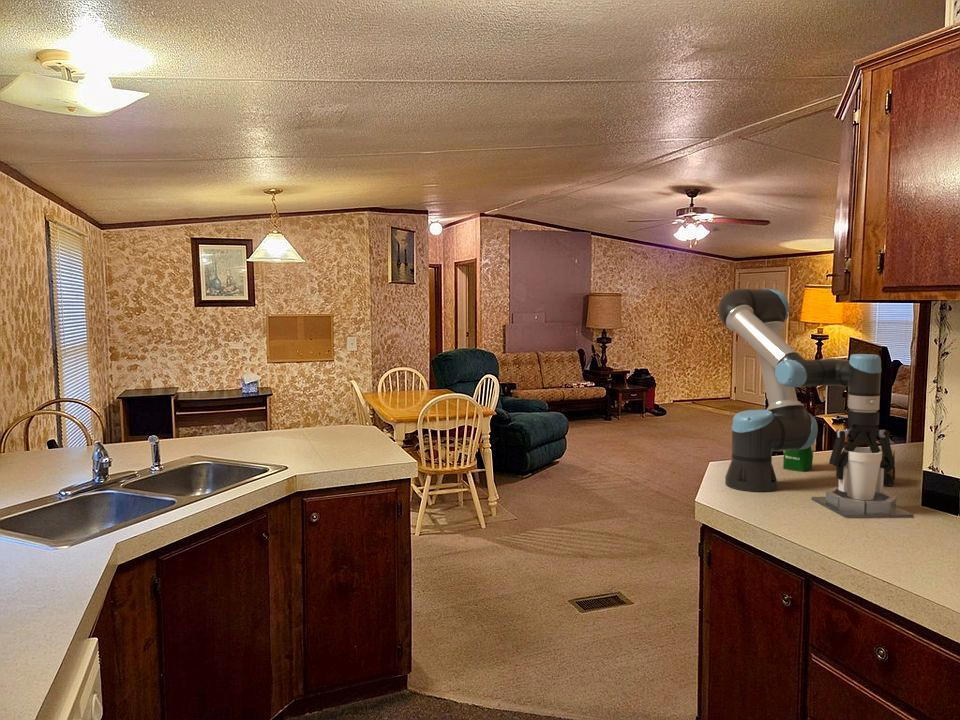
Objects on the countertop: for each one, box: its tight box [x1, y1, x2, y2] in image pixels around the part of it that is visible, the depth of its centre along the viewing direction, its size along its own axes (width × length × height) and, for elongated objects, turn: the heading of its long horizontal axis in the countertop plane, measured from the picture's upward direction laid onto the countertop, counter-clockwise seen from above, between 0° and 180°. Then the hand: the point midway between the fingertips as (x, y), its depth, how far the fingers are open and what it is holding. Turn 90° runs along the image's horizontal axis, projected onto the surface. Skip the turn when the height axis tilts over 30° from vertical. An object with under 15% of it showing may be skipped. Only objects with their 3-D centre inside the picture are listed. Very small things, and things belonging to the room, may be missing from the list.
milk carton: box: [782, 410, 814, 473], centre depth 235 cm, size 9×9×20 cm
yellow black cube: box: [879, 448, 896, 488], centre depth 217 cm, size 10×10×10 cm
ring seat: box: [811, 486, 915, 519], centre depth 188 cm, size 18×18×4 cm
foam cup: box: [842, 446, 882, 500], centre depth 187 cm, size 10×9×13 cm
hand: (860, 490), depth 188 cm, fingers closed on foam cup, 9 cm apart
